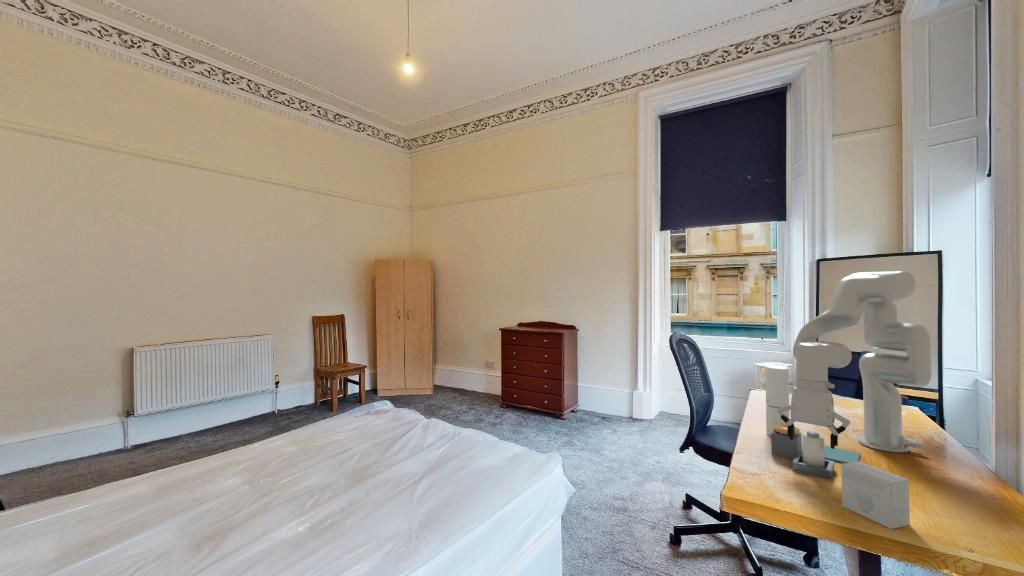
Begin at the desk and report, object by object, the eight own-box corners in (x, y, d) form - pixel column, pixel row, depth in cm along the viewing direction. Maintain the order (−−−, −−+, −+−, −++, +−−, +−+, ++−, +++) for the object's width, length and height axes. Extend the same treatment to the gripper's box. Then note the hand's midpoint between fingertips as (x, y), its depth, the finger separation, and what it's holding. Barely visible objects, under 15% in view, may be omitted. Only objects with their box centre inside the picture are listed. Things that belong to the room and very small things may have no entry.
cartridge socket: (834, 469, 116) (834, 461, 116) (830, 480, 110) (830, 471, 110) (798, 461, 123) (798, 453, 123) (792, 470, 116) (792, 461, 116)
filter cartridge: (825, 470, 116) (825, 432, 116) (823, 476, 113) (822, 437, 113) (804, 464, 120) (803, 428, 120) (801, 470, 116) (800, 433, 116)
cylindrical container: (782, 431, 149) (781, 365, 149) (794, 438, 141) (792, 369, 142) (762, 430, 149) (761, 365, 150) (773, 437, 142) (772, 368, 142)
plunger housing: (801, 454, 128) (801, 432, 128) (797, 460, 123) (797, 438, 123) (776, 448, 133) (776, 427, 133) (771, 454, 128) (771, 432, 128)
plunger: (801, 443, 128) (801, 427, 128) (797, 449, 123) (797, 433, 123) (776, 437, 133) (776, 422, 133) (771, 443, 128) (771, 427, 128)
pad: (860, 454, 127) (860, 452, 127) (857, 466, 118) (857, 464, 118) (806, 443, 137) (806, 441, 137) (800, 453, 128) (800, 451, 128)
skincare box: (911, 525, 89) (910, 478, 89) (892, 530, 87) (891, 482, 87) (859, 501, 99) (858, 459, 99) (840, 505, 97) (839, 463, 97)
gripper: (851, 388, 113) (851, 447, 113) (779, 378, 125) (779, 432, 125) (848, 392, 108) (849, 455, 107) (774, 382, 120) (774, 438, 120)
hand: (811, 443), depth 116 cm, fingers open, 9 cm apart
